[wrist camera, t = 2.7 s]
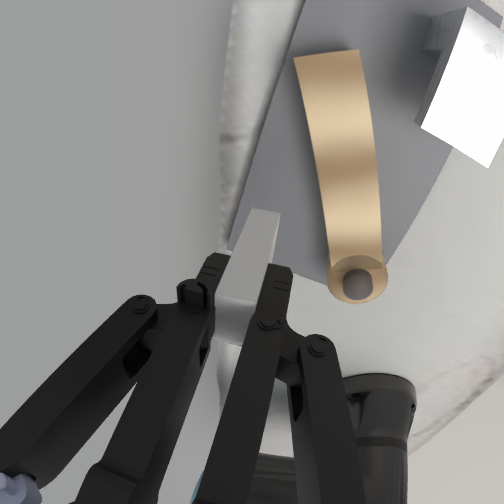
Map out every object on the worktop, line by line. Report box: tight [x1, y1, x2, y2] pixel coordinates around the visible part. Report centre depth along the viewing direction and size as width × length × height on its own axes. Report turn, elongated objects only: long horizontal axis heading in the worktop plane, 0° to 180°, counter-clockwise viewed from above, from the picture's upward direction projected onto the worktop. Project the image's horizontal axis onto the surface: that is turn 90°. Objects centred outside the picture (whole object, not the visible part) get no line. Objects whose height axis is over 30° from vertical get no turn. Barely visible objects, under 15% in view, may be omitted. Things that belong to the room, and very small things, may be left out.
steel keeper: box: [414, 6, 504, 168], centre depth 15 cm, size 8×5×8 cm, turn 164°
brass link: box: [294, 49, 388, 304], centre depth 21 cm, size 20×5×4 cm, turn 14°
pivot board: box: [226, 0, 503, 285], centre depth 21 cm, size 29×14×1 cm, turn 164°
